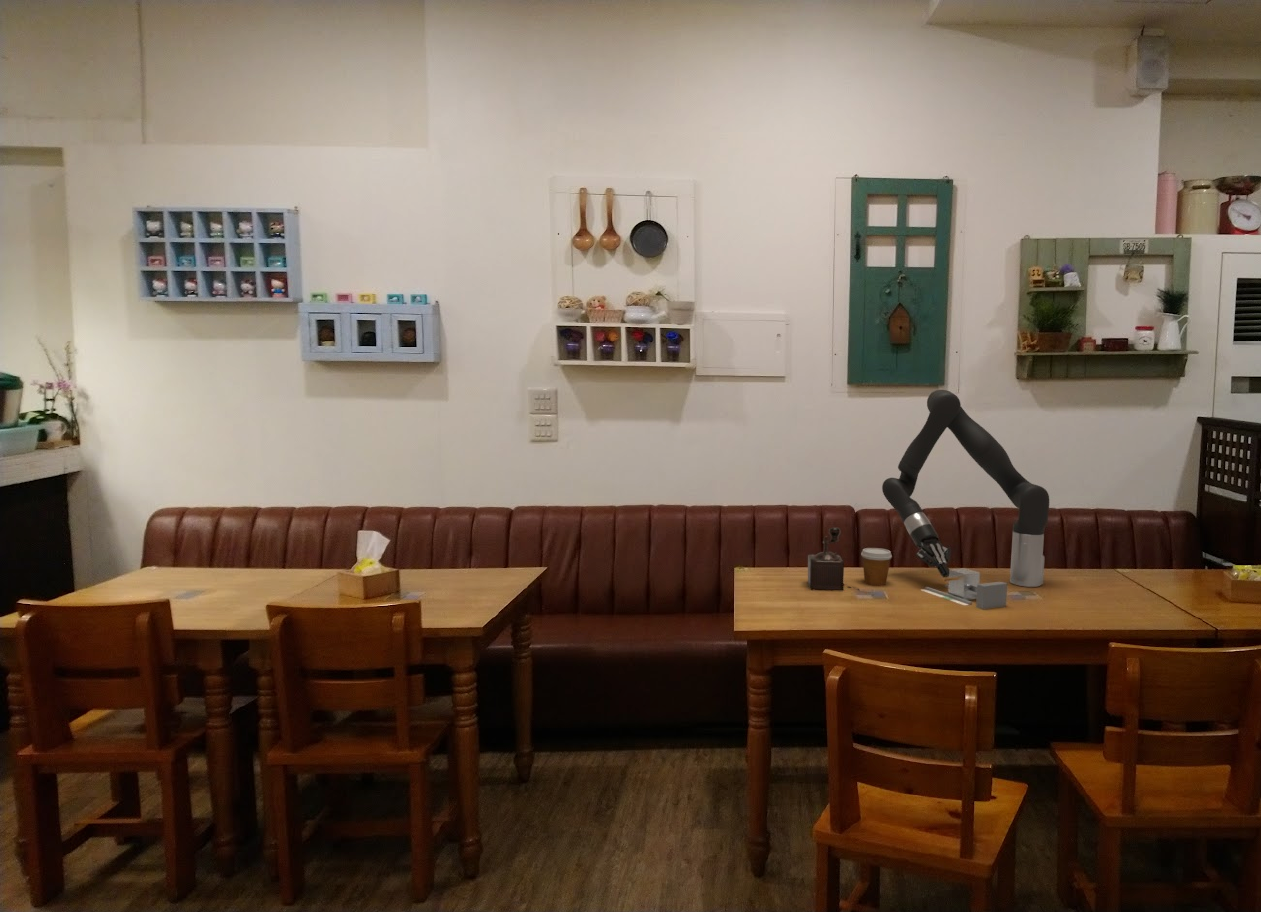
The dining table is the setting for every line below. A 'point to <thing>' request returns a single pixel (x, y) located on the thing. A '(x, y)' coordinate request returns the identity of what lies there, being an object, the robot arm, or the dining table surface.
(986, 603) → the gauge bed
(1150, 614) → the dining table surface
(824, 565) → the manual coffee grinder
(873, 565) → the disposable coffee cup
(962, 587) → the gauge carriage
